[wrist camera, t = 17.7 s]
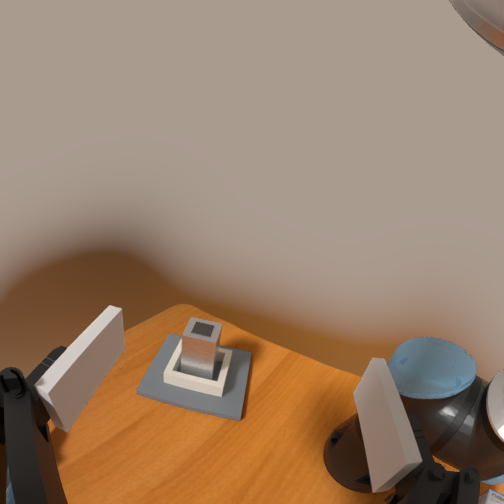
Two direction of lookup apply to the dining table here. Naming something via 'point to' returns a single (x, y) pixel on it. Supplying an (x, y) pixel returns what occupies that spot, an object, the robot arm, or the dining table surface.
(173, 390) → the cradle
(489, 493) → the medicine box
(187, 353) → the tall square post
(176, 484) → the dining table surface
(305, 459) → the dining table surface
